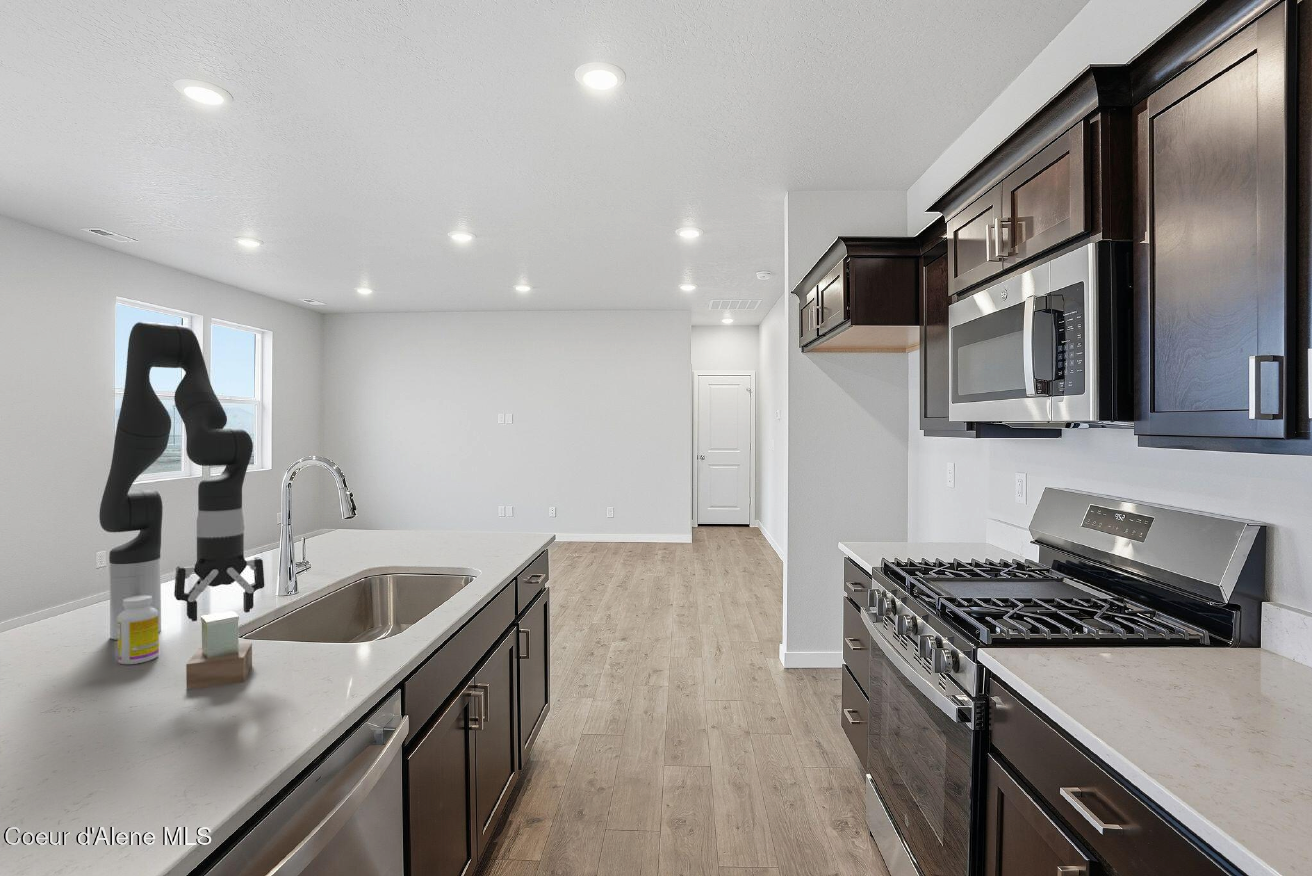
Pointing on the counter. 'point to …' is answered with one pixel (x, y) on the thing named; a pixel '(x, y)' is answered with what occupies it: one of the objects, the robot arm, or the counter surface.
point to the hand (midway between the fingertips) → (220, 615)
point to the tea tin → (220, 634)
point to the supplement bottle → (137, 631)
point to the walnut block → (219, 668)
